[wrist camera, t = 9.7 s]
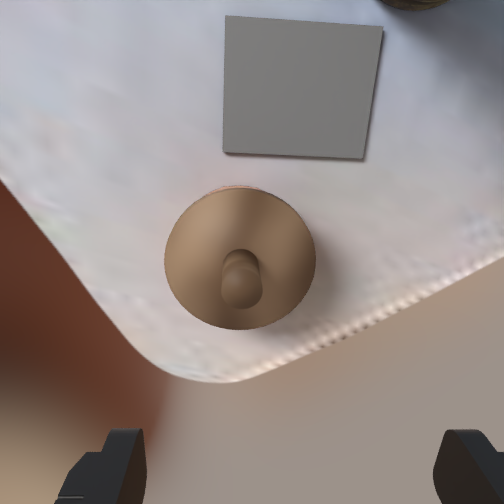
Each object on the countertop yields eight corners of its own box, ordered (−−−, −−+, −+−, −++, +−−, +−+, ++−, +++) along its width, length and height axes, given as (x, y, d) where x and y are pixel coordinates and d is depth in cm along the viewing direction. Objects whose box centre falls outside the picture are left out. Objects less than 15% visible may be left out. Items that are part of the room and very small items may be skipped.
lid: (321, 190, 26) (340, 208, 21) (305, 323, 30) (318, 363, 25) (163, 184, 25) (148, 201, 20) (169, 321, 29) (156, 362, 24)
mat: (381, 27, 26) (383, 26, 25) (360, 157, 29) (362, 158, 29) (225, 16, 25) (225, 15, 25) (222, 151, 28) (222, 152, 28)
